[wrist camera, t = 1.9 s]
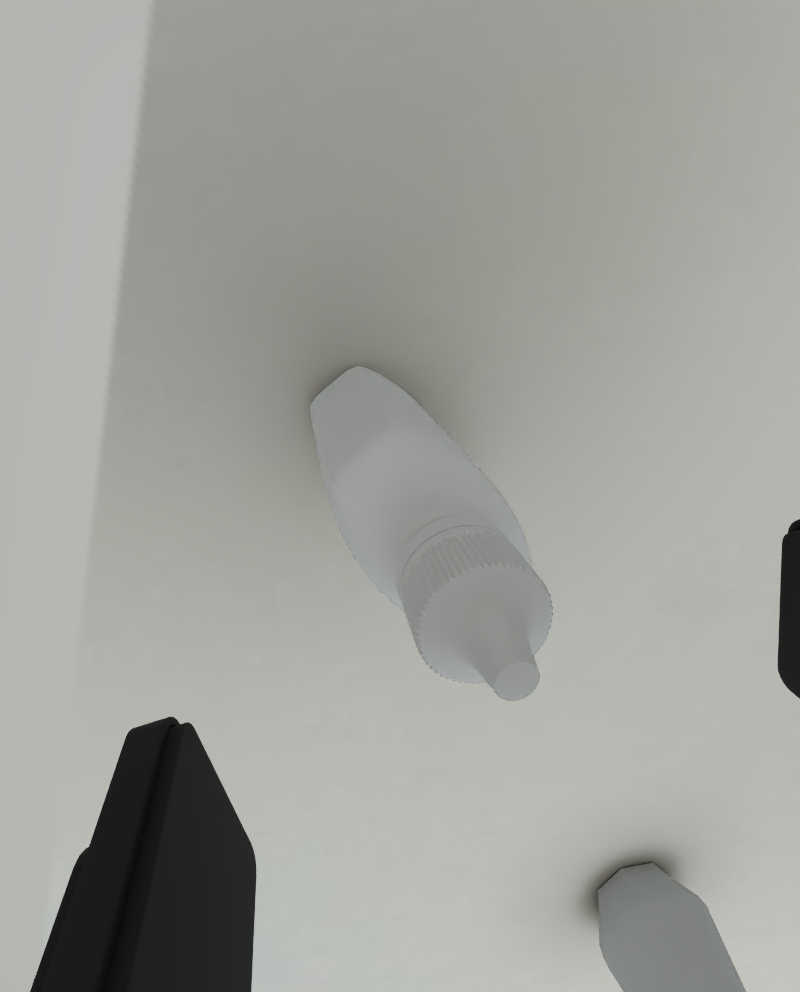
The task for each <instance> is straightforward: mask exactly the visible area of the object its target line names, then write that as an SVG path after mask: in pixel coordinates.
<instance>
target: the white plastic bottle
mask: <svg viewBox="0 0 800 992" xmlns="http://www.w3.org/2000/svg"><path fill="white" fill-rule="evenodd" d="M310 416H311V422H312V427H313V432H314V438H315V443H316V448H317V453H318V458H319V463H320V468H321V472H322V476H323V480H324V484H325V488H326V492H327V496H328V500H329V503H330V506H331V509H332V512H333V514H334V517H335V519H336V522H337V524H338V527H339V529H340V532H341V534H342V536H343V538H344V540H345V542H346V544H347V546H348V547H349V549H350V551H351V553H352V554H353V556H354V558H355V560H356V561H357V563H358V564H359V565H360V567H361V568H362V570H363V571H364V572H365V574H366V575H367V576H368V578H369V579H370V580H371V581H372V583H373V584H374V585H375V586H376V587H377V588H378V589H379V590H380V591H381V592H382V593H383V594H384V595H385V596H386V597H387V598H388V599H389V600H390V601H391V602H392V603H394V604H395V605H396V606H397V607H399V608H400V609H401V610H403V611H404V612H405V614H406V617H407V620H408V623H409V626H410V628H411V631H412V634H413V637H414V640H415V643H416V646H417V648H418V651H419V653H420V655H421V656H422V659H423V660H425V662H426V664H427V665H429V666H430V669H433V670H435V673H439V674H440V676H444V677H446V679H452V681H458V682H465V683H483V682H487V683H488V684H489V685H490V687H491V688H492V689H493V690H494V691H495V692H496V694H497V695H498V696H499V697H501V698H502V699H504V700H508V701H515V700H520V699H523V698H525V697H527V696H528V695H530V694H531V693H532V692H533V691H534V690H535V689H536V687H537V685H538V683H539V678H540V676H539V671H538V668H537V665H536V662H535V659H534V655H535V654H536V653H537V652H538V650H539V649H540V647H541V646H542V645H543V643H544V641H545V639H546V637H547V635H548V633H549V632H548V631H549V629H550V627H551V625H550V624H551V622H552V619H551V618H552V615H553V613H552V609H553V607H552V606H551V604H552V600H551V599H550V596H551V595H550V594H549V593H548V589H547V588H546V586H545V584H544V582H543V581H542V579H541V578H540V577H539V576H538V575H537V573H536V572H535V571H534V570H533V566H532V560H531V556H530V551H529V548H528V545H527V541H526V538H525V536H524V533H523V531H522V528H521V526H520V524H519V522H518V520H517V518H516V516H515V514H514V513H513V511H512V509H511V508H510V506H509V504H508V503H507V501H506V500H505V498H504V497H503V496H502V494H501V493H500V491H499V490H498V489H497V488H496V487H495V485H494V484H493V483H492V482H491V481H490V479H489V478H488V477H487V476H486V475H485V474H484V473H483V472H482V470H481V469H480V468H479V467H478V466H477V465H476V464H475V463H474V462H473V461H472V460H471V459H470V458H469V457H468V456H467V454H466V453H465V452H464V451H463V450H462V449H461V448H460V447H459V446H458V445H457V444H456V443H455V442H454V441H453V440H452V439H451V438H450V437H449V435H448V434H447V433H446V432H445V431H444V430H443V429H442V428H441V427H440V426H439V425H438V424H437V423H436V422H435V421H434V420H433V419H432V418H431V416H430V415H429V414H428V413H427V412H426V411H425V410H424V409H423V408H422V407H421V406H420V405H419V404H418V403H417V402H416V401H415V400H414V399H413V398H412V397H411V396H410V395H409V394H408V393H406V392H405V391H404V390H403V389H402V388H400V387H399V386H397V385H396V384H395V383H393V382H392V381H390V380H389V379H387V378H386V377H384V376H382V375H380V374H379V373H377V372H375V371H373V370H370V369H368V368H366V367H358V366H356V367H353V368H351V369H349V370H347V371H346V372H344V373H343V374H342V375H341V376H339V377H338V378H337V379H336V380H335V381H333V382H332V383H331V384H330V385H329V386H327V387H326V388H325V389H324V390H323V391H322V392H321V393H319V394H318V395H317V396H316V397H315V399H314V400H313V402H312V403H311V408H310Z"/></svg>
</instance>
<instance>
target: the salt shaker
mask: <svg viewBox="0 0 800 992" xmlns="http://www.w3.org/2000/svg"><path fill="white" fill-rule="evenodd" d="M597 892H598V903H599V940H600V948H601V951H602V954H603V957H604V959H605V961H606V963H607V965H608V967H609V969H610V971H611V973H612V974H613V976H614V977H615V979H616V980H617V982H618V984H619V985H620V987H621V988H622V990H623V991H624V992H746V990H745V988H744V986H743V984H742V982H741V980H740V978H739V976H738V974H737V971H736V969H735V967H734V965H733V963H732V961H731V958H730V956H729V954H728V952H727V950H726V947H725V945H724V943H723V941H722V939H721V937H720V934H719V932H718V930H717V928H716V926H715V923H714V921H713V919H712V917H711V915H710V912H709V910H708V908H707V906H706V905H705V904H704V902H703V901H702V900H701V899H700V898H699V896H697V895H696V894H694V893H693V892H692V891H690V890H689V889H687V888H686V887H684V886H683V885H681V884H680V883H678V882H677V881H675V880H674V879H672V878H671V877H669V876H668V875H667V874H666V873H664V872H663V871H662V870H661V869H660V868H658V867H657V866H656V865H655V864H654V863H648V864H643V865H637V866H632V867H626V868H621V869H620V870H619V871H618V872H617V873H616V874H615V875H614V876H612V877H611V878H610V879H609V880H608V881H607V882H606V883H605V884H604V885H603V886H602V887H601V888H599V889H598V890H597Z"/></svg>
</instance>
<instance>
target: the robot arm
mask: <svg viewBox="0 0 800 992" xmlns="http://www.w3.org/2000/svg"><path fill="white" fill-rule="evenodd" d="M778 671H779V674H780V677H781V679H782V681H783V682H784V684H785V685H786V686H787V688H788V689H789V690H790V691H791V692H792V693H794V694H795V695H796V696H797V697H799V698H800V520H797V521H795V522H793V523H792V524H791V526H790V527H789V530H788V534H786V535H785V536H784V538H783V542H782V562H781V590H780V618H779V646H778ZM255 891H256V861H255V855H254V851H253V847H252V845H251V842H250V840H249V838H248V836H247V834H246V832H245V830H244V828H243V826H242V824H241V822H240V820H239V818H238V816H237V814H236V812H235V810H234V808H233V806H232V804H231V802H230V800H229V798H228V796H227V794H226V792H225V790H224V788H223V786H222V784H221V782H220V780H219V778H218V776H217V773H216V771H215V769H214V767H213V765H212V763H211V761H210V759H209V757H208V755H207V753H206V751H205V749H204V747H203V745H202V743H201V741H200V739H199V737H198V735H197V733H196V731H195V729H194V727H193V726H192V725H191V724H190V723H184V724H181V725H180V724H179V722H178V720H176V719H175V718H174V717H168V718H165V719H162V720H158V721H155V722H152V723H149V724H146V725H142V726H139V727H136V728H133V729H131V730H130V731H129V732H128V734H127V736H126V739H125V742H124V745H123V748H122V751H121V754H120V757H119V759H118V762H117V765H116V768H115V771H114V774H113V777H112V780H111V783H110V786H109V789H108V792H107V795H106V798H105V801H104V804H103V807H102V810H101V813H100V816H99V819H98V822H97V825H96V828H95V831H94V834H93V837H92V840H91V843H90V846H89V847H88V848H86V849H85V850H84V851H83V853H82V854H81V855H80V856H79V858H78V860H77V862H76V864H75V866H74V868H73V871H72V874H71V877H70V879H69V882H68V885H67V888H66V891H65V894H64V897H63V899H62V902H61V905H60V908H59V911H58V914H57V917H56V919H55V922H54V925H53V928H52V931H51V934H50V937H49V939H48V942H47V945H46V948H45V951H44V954H43V957H42V959H41V962H40V965H39V968H38V971H37V974H36V977H35V979H34V982H33V985H32V988H31V991H30V992H251V982H252V959H253V936H254V914H255Z"/></svg>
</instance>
